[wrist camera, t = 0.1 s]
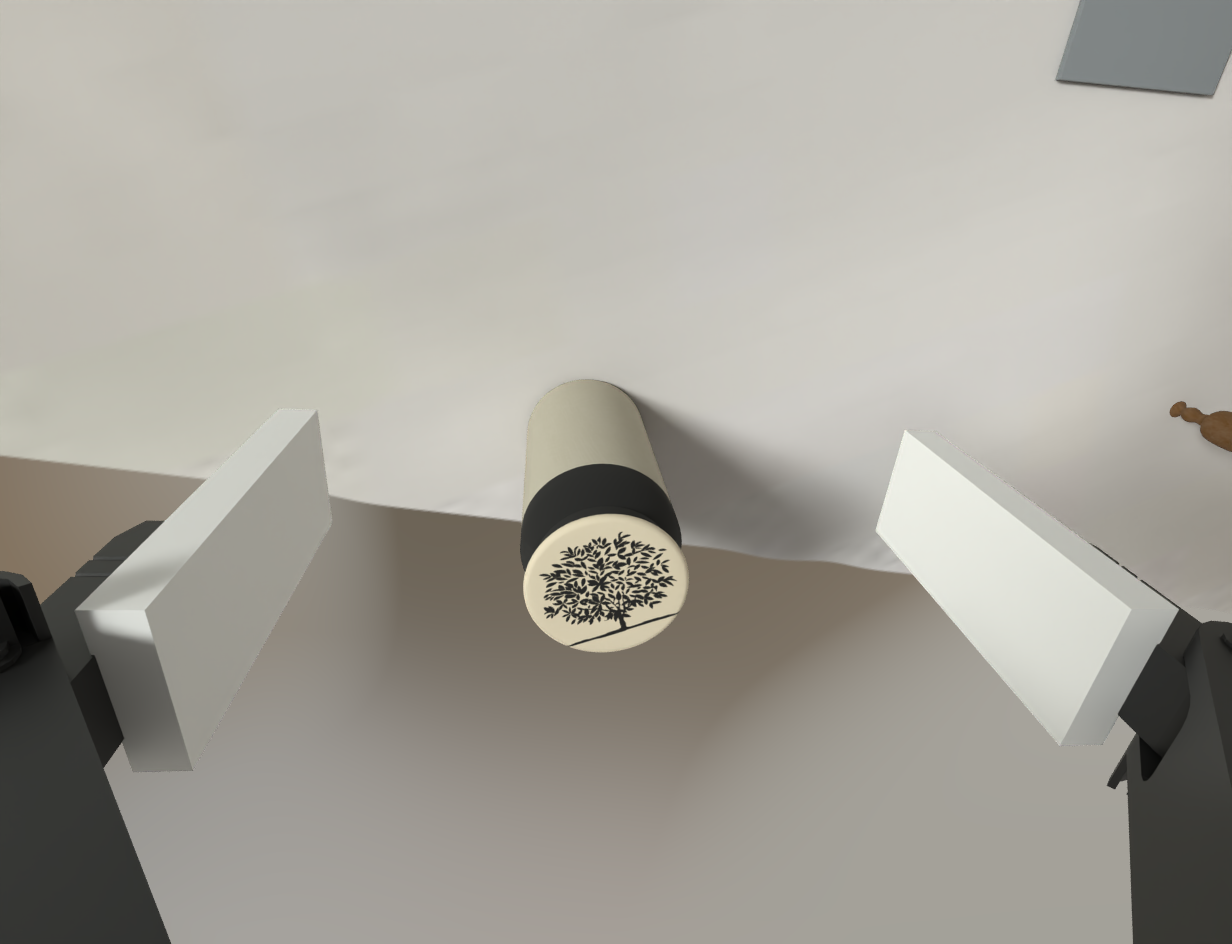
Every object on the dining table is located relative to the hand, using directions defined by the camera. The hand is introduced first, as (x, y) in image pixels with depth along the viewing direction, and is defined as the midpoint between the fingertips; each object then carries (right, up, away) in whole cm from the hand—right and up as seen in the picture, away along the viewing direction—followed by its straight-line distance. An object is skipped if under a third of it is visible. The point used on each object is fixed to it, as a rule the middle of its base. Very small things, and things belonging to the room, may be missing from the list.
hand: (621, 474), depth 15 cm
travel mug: (-2, +3, +31) cm, 31 cm away
